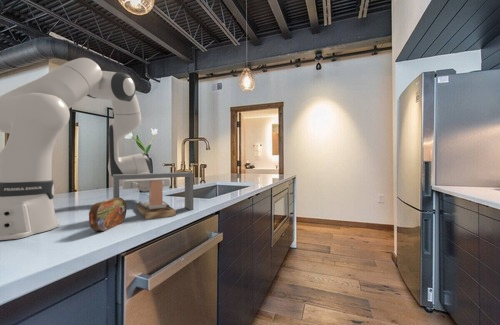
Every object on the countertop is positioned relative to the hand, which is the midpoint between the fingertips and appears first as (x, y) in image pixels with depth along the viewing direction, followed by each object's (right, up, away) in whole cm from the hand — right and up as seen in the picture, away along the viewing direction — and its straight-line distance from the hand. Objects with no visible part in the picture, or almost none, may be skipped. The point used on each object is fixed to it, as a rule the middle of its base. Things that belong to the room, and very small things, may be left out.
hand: (150, 184), depth 102 cm
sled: (+7, -7, -10) cm, 14 cm away
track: (+6, -10, -9) cm, 14 cm away
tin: (0, -10, -30) cm, 31 cm away
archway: (+6, -10, -10) cm, 15 cm away
